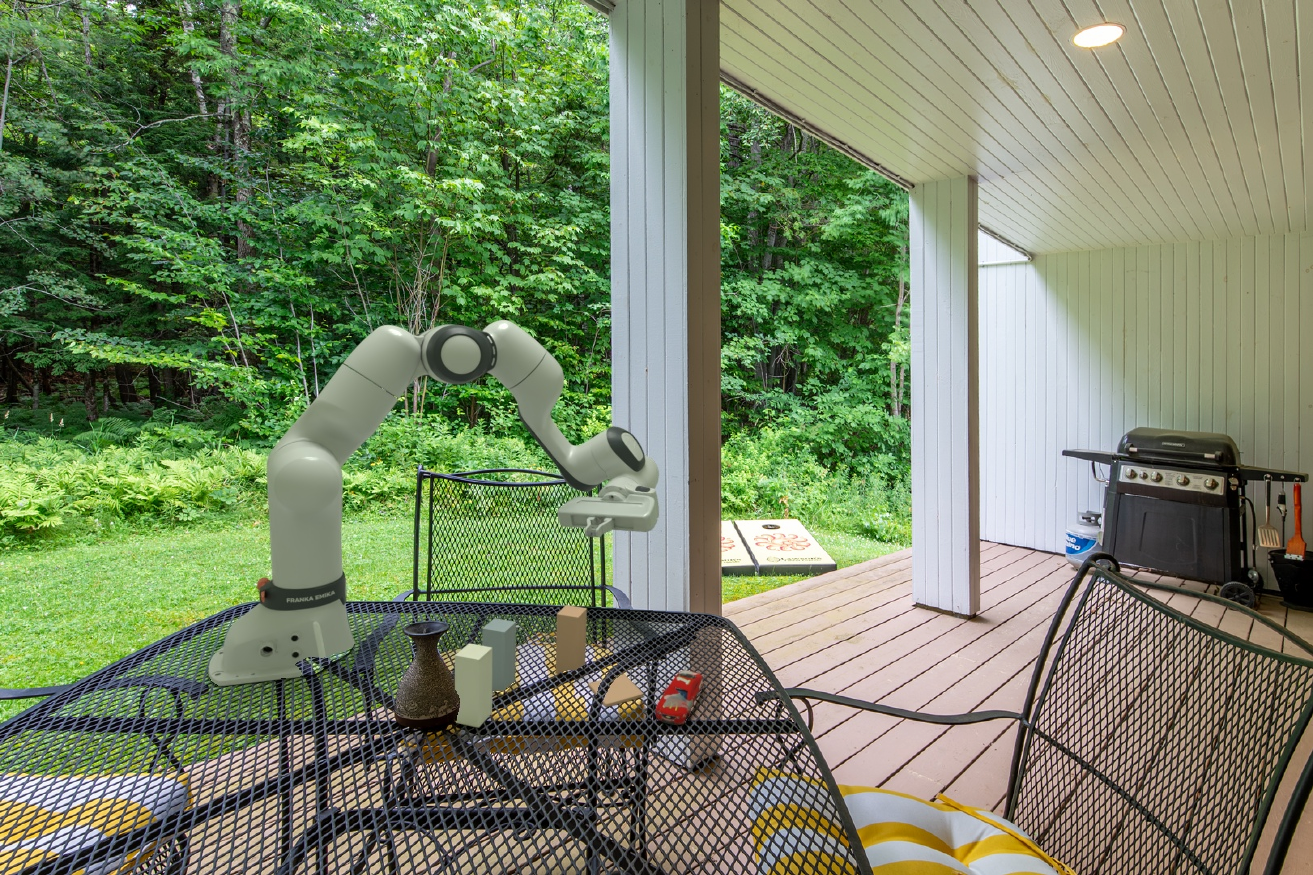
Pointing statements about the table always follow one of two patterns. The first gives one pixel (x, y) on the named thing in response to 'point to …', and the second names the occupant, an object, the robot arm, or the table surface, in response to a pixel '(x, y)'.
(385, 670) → the table surface
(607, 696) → the tile
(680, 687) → the race car
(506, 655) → the slate post
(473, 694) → the cream post
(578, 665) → the tan rectangular block
